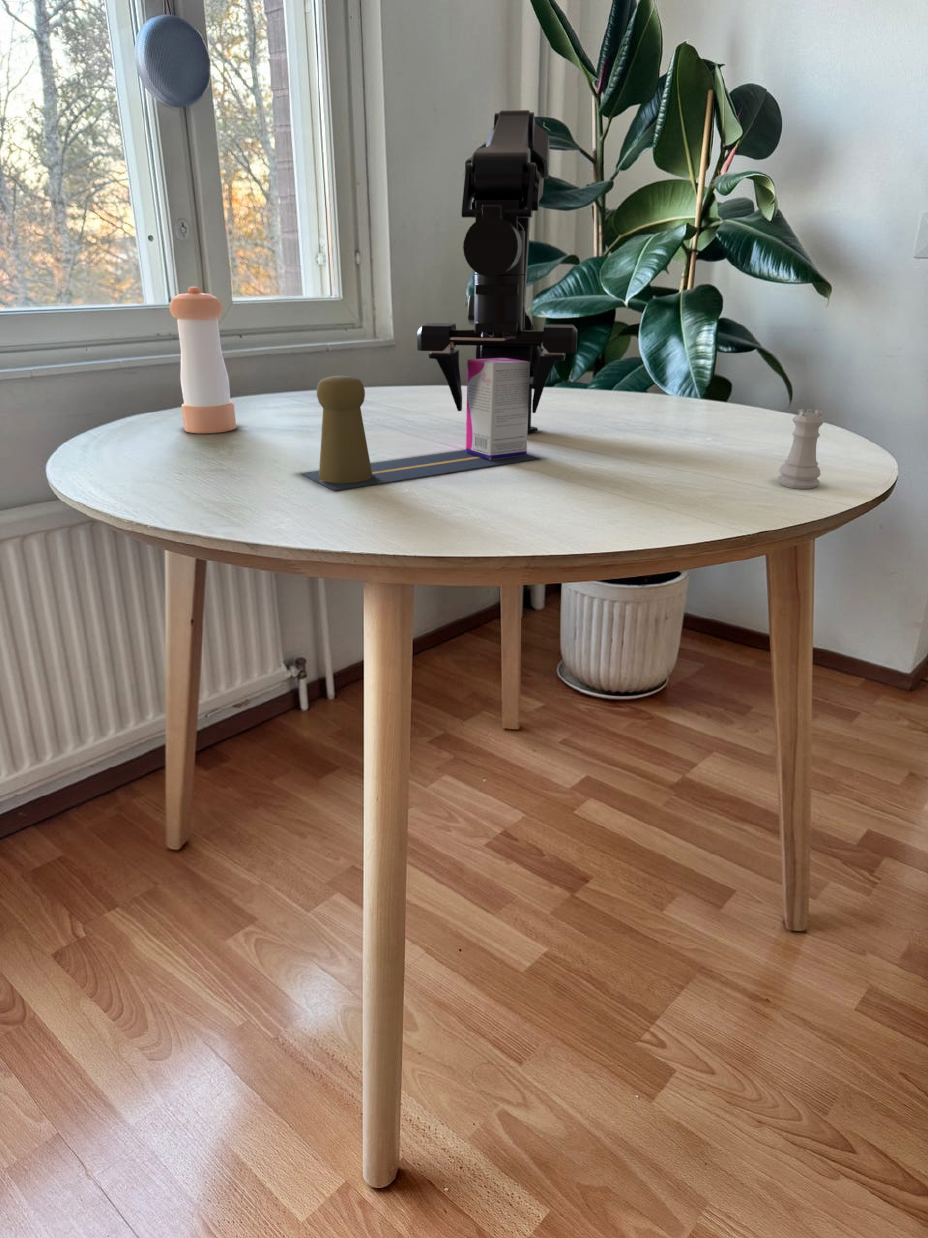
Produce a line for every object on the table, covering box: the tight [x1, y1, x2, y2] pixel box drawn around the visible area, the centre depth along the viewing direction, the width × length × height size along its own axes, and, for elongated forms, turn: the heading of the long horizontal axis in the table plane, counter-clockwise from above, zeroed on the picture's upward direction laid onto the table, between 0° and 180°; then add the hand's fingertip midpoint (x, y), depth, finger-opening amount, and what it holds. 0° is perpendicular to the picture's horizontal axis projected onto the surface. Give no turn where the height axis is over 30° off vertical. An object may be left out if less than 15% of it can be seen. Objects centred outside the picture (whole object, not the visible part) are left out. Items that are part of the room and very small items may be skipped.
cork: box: [316, 374, 372, 483], centre depth 92 cm, size 6×6×11 cm
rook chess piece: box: [776, 408, 826, 490], centre depth 90 cm, size 4×4×8 cm
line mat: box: [300, 449, 541, 492], centre depth 99 cm, size 28×9×1 cm, turn 124°
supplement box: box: [465, 358, 531, 460], centre depth 103 cm, size 6×6×12 cm
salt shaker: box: [169, 286, 237, 434], centre depth 117 cm, size 7×7×19 cm
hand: (496, 411), depth 103 cm, fingers open, 9 cm apart
